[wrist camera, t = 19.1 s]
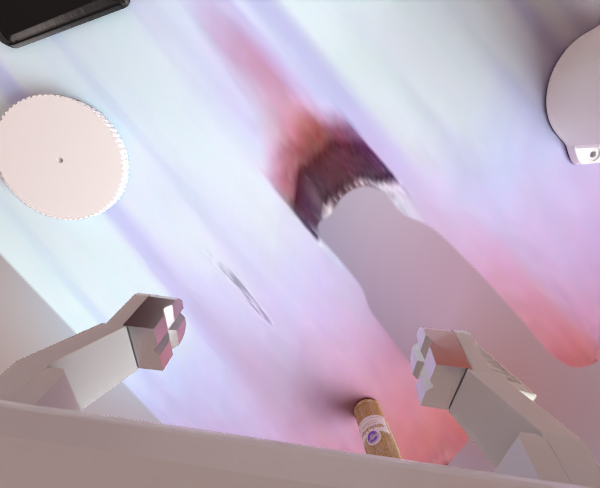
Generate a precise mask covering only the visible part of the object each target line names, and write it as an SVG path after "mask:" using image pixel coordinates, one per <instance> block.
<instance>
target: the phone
mask: <svg viewBox="0 0 600 488" xmlns="http://www.w3.org/2000/svg"><path fill="white" fill-rule="evenodd" d="M129 3H130V0H0V41H1V42H2V43H3V44H5V45H8V46H10V47H12V48H19V47H22V46H25V45H27V44H30V43H33V42H35V41H38V40H41V39H43V38H46V37H49V36H51V35H54V34H57V33H59V32H62V31H65V30H67V29H70V28H72V27H75V26H78V25H80V24H83V23H86V22H88V21H91V20H94V19H96V18H99V17H102V16H104V15H107V14H110V13H112V12H115V11H118V10H120V9H123V8H125V7H127V6H128V5H129Z"/></svg>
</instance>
